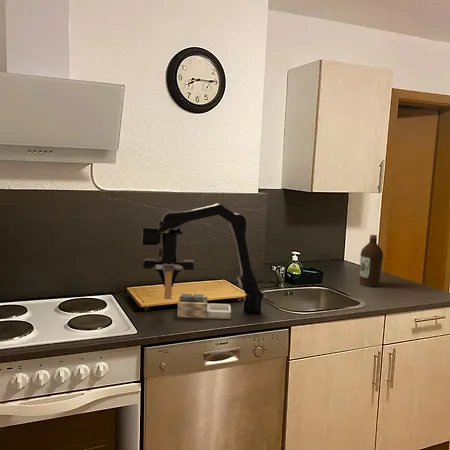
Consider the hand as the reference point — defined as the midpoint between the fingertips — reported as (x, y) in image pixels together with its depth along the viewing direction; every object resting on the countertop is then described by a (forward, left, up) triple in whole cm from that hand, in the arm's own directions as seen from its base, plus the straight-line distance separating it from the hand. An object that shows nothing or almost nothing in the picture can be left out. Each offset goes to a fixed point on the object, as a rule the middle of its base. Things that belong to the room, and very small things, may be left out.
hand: (168, 286), depth 180 cm
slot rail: (-9, -2, -11) cm, 15 cm away
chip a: (-11, -2, -8) cm, 14 cm away
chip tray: (-19, -2, -11) cm, 22 cm away
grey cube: (-7, -2, -8) cm, 11 cm away
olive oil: (-95, -54, -11) cm, 110 cm away
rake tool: (0, 0, -4) cm, 4 cm away
